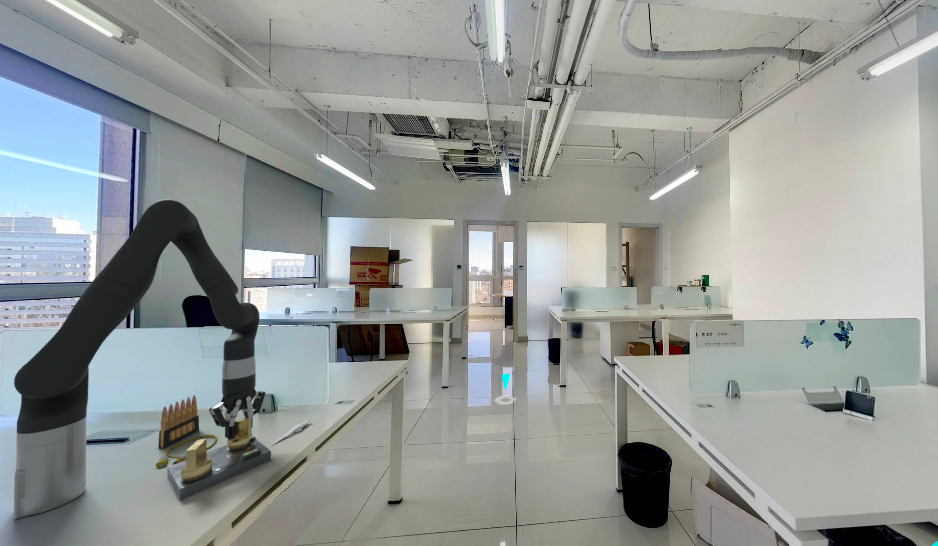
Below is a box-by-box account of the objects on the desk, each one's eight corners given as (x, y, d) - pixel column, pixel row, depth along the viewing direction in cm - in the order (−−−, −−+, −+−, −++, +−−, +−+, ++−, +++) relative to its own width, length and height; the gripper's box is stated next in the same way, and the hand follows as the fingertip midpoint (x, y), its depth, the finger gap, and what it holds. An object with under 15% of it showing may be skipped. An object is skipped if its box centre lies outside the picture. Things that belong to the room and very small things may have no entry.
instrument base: (179, 500, 66) (179, 484, 66) (167, 476, 75) (167, 462, 75) (271, 460, 81) (270, 447, 81) (252, 444, 89) (252, 432, 89)
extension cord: (135, 468, 80) (135, 460, 80) (197, 437, 95) (197, 430, 95) (172, 471, 78) (172, 464, 78) (230, 439, 93) (230, 433, 93)
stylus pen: (306, 422, 103) (306, 417, 103) (313, 423, 102) (313, 418, 102) (266, 448, 88) (266, 442, 88) (273, 450, 87) (273, 444, 87)
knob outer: (222, 451, 81) (222, 425, 81) (233, 441, 86) (233, 416, 86) (249, 448, 82) (249, 422, 82) (259, 438, 87) (259, 414, 88)
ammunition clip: (163, 448, 88) (164, 407, 88) (158, 448, 88) (158, 407, 88) (199, 430, 98) (199, 394, 99) (194, 430, 99) (194, 393, 99)
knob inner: (205, 478, 70) (205, 448, 70) (174, 484, 68) (175, 453, 68) (218, 462, 76) (218, 434, 76) (190, 467, 74) (190, 439, 74)
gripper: (256, 365, 92) (256, 421, 92) (201, 380, 79) (200, 445, 79) (272, 367, 90) (272, 425, 89) (219, 383, 76) (218, 451, 76)
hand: (239, 434), depth 84 cm, fingers closed on knob outer, 3 cm apart
